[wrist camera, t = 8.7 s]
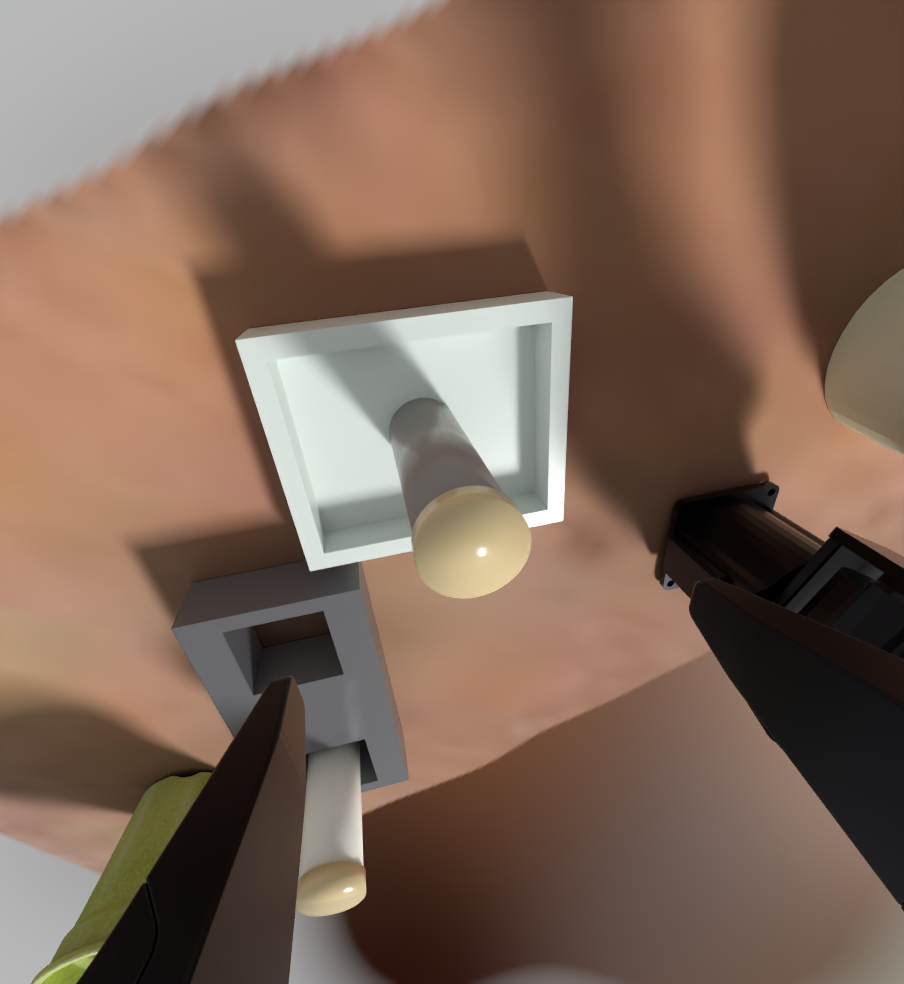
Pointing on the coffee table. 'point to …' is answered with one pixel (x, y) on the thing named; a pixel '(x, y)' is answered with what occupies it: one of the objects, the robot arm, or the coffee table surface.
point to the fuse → (332, 833)
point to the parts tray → (395, 381)
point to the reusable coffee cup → (872, 368)
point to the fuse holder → (299, 658)
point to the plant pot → (124, 874)
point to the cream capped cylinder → (454, 505)
